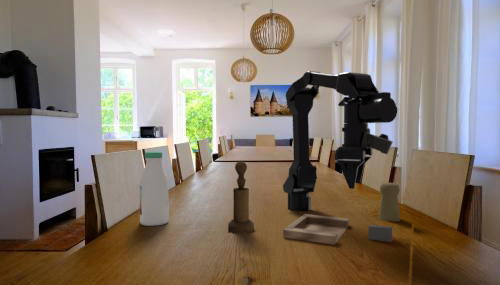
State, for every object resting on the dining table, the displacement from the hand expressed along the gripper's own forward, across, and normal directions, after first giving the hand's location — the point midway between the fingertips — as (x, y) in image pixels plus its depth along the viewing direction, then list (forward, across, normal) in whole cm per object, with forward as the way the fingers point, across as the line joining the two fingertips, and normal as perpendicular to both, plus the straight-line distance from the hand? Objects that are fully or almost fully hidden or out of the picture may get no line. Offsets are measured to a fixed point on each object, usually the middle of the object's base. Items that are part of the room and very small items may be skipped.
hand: (354, 185), depth 84 cm
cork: (+12, +16, -7) cm, 21 cm away
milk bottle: (+12, -15, +52) cm, 56 cm away
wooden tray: (+12, -5, +8) cm, 15 cm away
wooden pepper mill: (+12, -12, +26) cm, 31 cm away
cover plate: (+13, -5, -7) cm, 15 cm away
